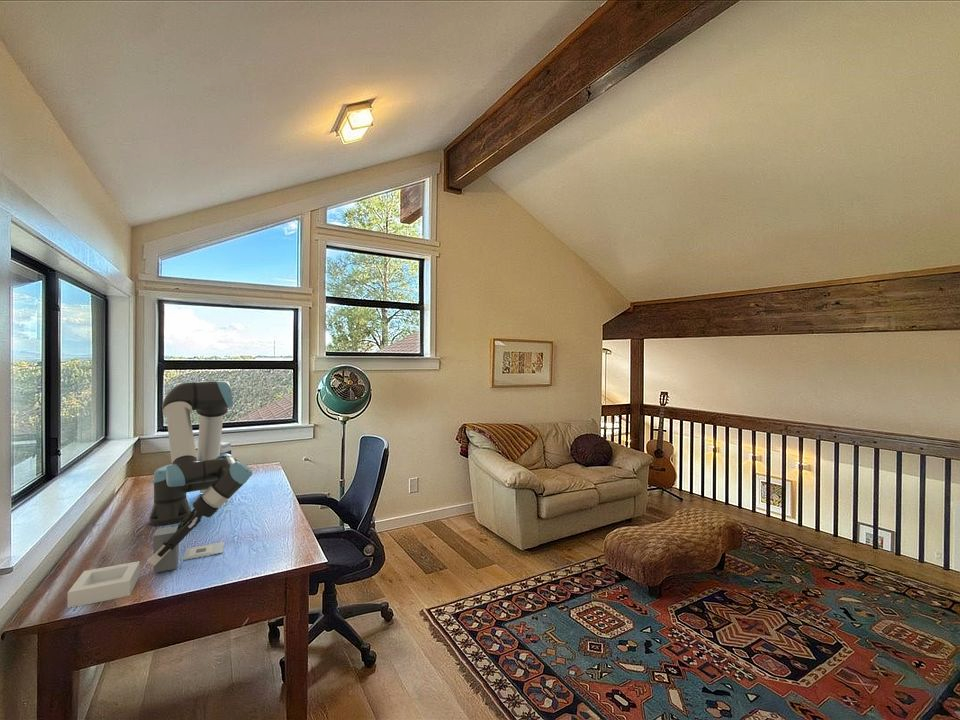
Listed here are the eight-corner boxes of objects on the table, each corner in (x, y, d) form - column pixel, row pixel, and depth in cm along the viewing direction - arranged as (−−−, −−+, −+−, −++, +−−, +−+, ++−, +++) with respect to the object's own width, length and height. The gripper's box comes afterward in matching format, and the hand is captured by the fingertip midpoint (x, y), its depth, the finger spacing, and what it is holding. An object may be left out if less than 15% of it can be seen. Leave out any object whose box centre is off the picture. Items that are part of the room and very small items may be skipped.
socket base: (84, 585, 136) (84, 570, 136) (140, 574, 143) (140, 561, 143) (67, 608, 124) (67, 592, 124) (129, 595, 130) (129, 580, 130)
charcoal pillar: (157, 564, 147) (156, 529, 147) (178, 560, 150) (178, 526, 150) (153, 572, 142) (153, 536, 142) (175, 568, 145) (175, 532, 145)
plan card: (186, 549, 161) (186, 547, 161) (224, 542, 167) (224, 541, 167) (182, 560, 152) (182, 558, 152) (222, 553, 158) (222, 551, 158)
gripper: (217, 517, 144) (157, 578, 137) (221, 499, 161) (167, 553, 154) (198, 503, 142) (136, 565, 135) (203, 487, 159) (148, 541, 151)
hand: (153, 558), depth 144 cm, fingers closed on charcoal pillar, 6 cm apart
